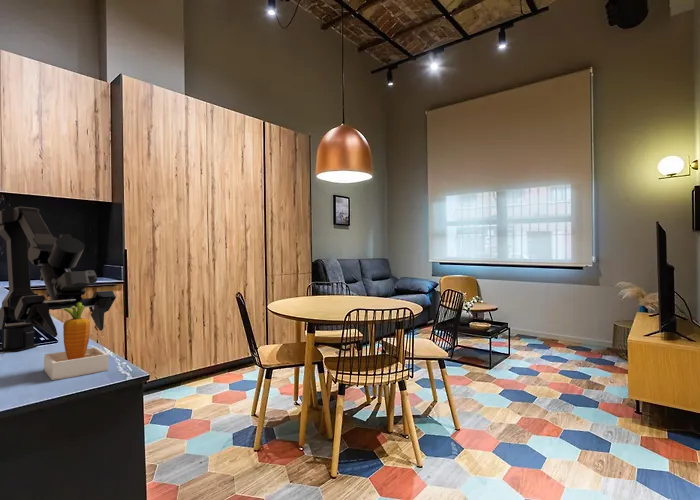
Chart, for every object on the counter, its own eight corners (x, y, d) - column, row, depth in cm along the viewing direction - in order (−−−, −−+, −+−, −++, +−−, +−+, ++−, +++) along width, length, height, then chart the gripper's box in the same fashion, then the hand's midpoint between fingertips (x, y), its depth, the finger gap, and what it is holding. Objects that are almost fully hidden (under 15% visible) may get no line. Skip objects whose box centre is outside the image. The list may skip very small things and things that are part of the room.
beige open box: (43, 370, 86) (44, 354, 86) (96, 361, 93) (96, 347, 94) (52, 380, 79) (52, 363, 79) (108, 370, 87) (108, 354, 87)
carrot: (75, 372, 83) (77, 304, 84) (56, 370, 84) (58, 303, 85) (94, 365, 88) (95, 302, 89) (76, 364, 89) (77, 301, 90)
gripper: (21, 259, 81) (40, 314, 75) (113, 259, 97) (135, 305, 91) (6, 293, 85) (24, 349, 79) (97, 288, 101) (117, 334, 95)
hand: (79, 332), depth 86 cm, fingers open, 9 cm apart
